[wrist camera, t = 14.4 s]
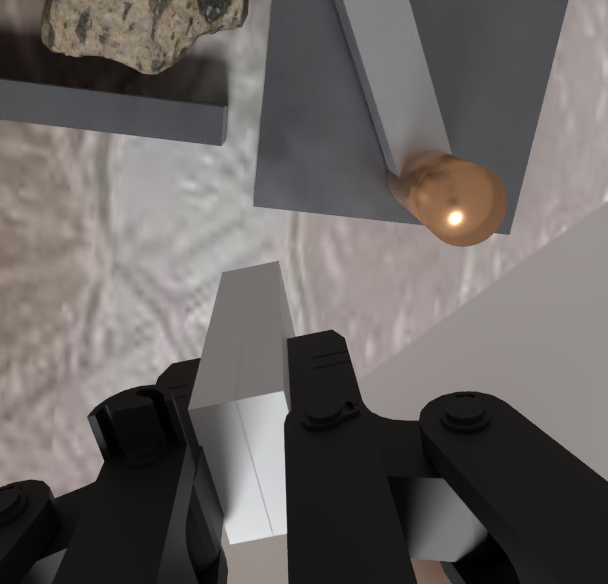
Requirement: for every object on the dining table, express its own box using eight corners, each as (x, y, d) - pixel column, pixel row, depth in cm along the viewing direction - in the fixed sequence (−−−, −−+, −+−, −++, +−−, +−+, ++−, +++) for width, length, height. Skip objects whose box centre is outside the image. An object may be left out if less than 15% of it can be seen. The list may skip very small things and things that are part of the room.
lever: (250, -192, 27) (239, -319, 18) (349, -236, 26) (384, -387, 18) (386, 219, 34) (424, 263, 26) (466, 189, 34) (530, 224, 25)
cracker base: (-91, -261, 26) (-211, -376, 20) (594, -141, 30) (687, -206, 23) (-53, 168, 33) (-133, 189, 27) (503, 230, 36) (554, 263, 30)
